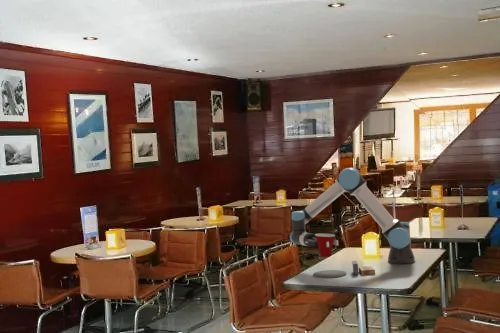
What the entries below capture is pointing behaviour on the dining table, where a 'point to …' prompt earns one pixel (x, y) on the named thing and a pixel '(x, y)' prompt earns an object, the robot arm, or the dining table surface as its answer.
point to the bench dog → (355, 267)
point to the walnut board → (367, 270)
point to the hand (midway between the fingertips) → (333, 243)
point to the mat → (329, 274)
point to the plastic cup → (325, 244)
